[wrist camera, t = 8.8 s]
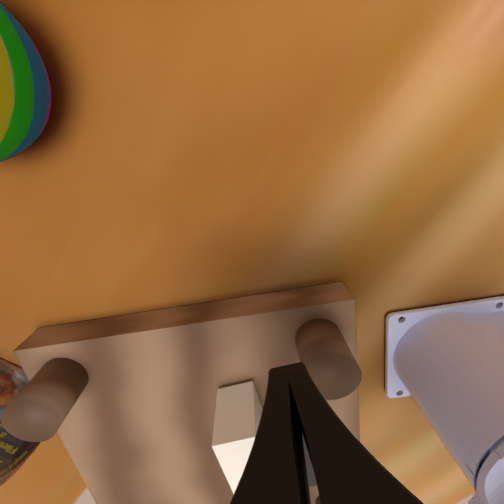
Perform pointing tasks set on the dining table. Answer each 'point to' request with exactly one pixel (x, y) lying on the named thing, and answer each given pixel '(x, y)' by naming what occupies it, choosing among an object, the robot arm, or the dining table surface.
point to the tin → (3, 443)
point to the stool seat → (177, 386)
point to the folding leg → (235, 428)
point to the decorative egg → (20, 88)
